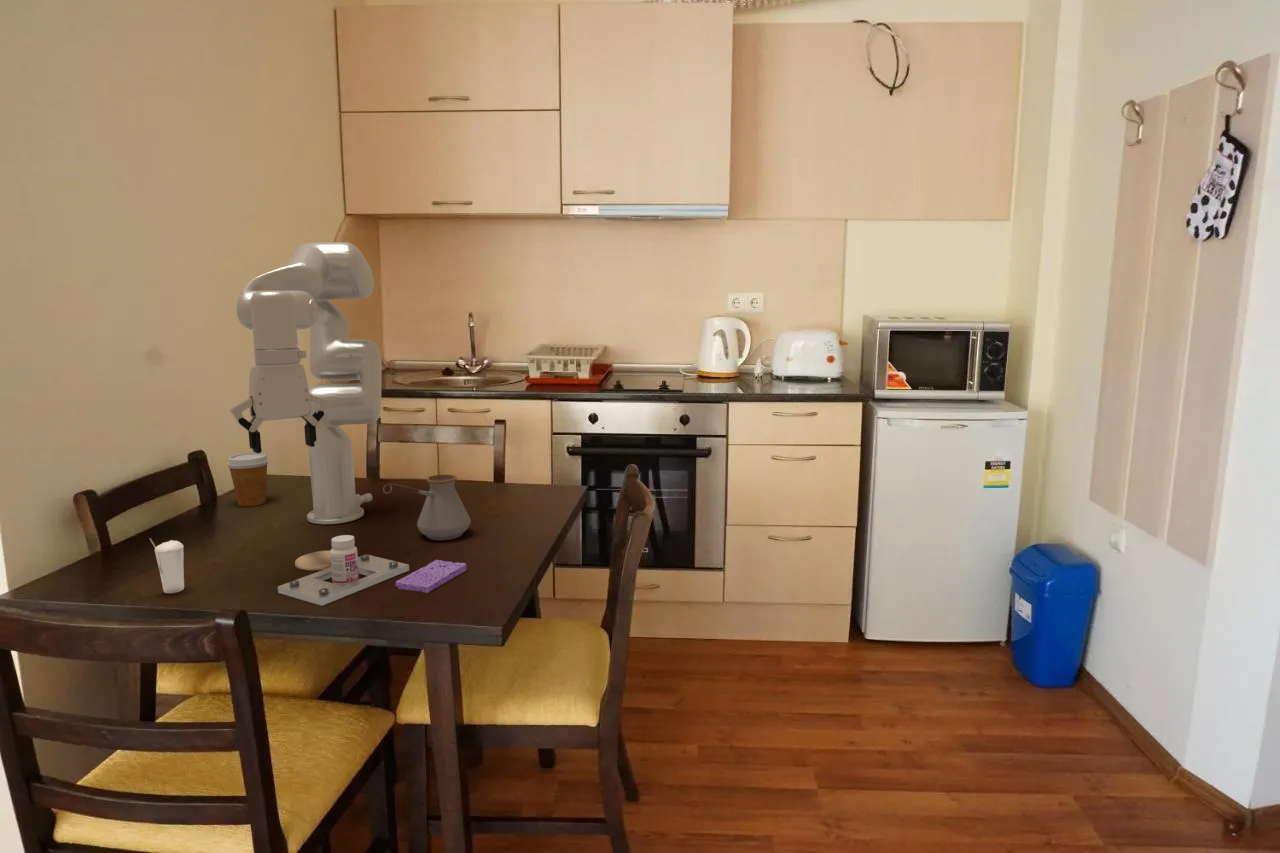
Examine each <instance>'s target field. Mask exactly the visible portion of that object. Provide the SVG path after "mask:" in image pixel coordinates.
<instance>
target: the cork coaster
mask: <svg viewBox="0 0 1280 853" xmlns="http://www.w3.org/2000/svg"><path fill="white" fill-rule="evenodd" d="M330 551H331V549H330V550H320V551H313V552H309V553H306V554H304V555H300V556H299V557H298V558H297V559H295V561H294V565H295V568H297V569H298V570H303V571H322V570H324V569H327V568H330V567H331V557H330Z"/></svg>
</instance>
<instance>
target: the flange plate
mask: <svg viewBox="0 0 1280 853" xmlns="http://www.w3.org/2000/svg"><path fill="white" fill-rule="evenodd" d="M358 570H359V575H361V576H365V577H362V578H359V580H357V581H354V582H351V583H349V584H346V585H337V584H333V582H330V581H326V580H329V579H332V571H331V567H330V568H327V569H324V570H318V571H317V572H314V573H311V574H309V575H305V576H303V577H301V578H297V579H294V580H291V581H289V582H285V583H283V584H281V585H278V586H277V593H278V594H282V595H284V596H287V597H290V598H295V599H297V600H301V601H305V602H307V603H312V604H314V605H317V606H321V607H323V606H325V605H328V604H330V603H334V602H335V601H338V600H340V599H343V598H345V597H348V596H350V595H353V594H355V593H357V592H359V591H362V590H364V589H368V588H370V587H372V586H374V585H377V584H380V583H382V582H385V581H387V580H389V579H393V578H394V577H397V576H399V575H402V574H404V573H406V572H409V571H410V565H409V564H408V563H403V562H400V561H395V560H391V559H387V558H383V557H379V556H374V555H371V554H361V555H360V556H358Z"/></svg>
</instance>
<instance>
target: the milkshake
mask: <svg viewBox="0 0 1280 853" xmlns="http://www.w3.org/2000/svg"><path fill="white" fill-rule="evenodd" d="M149 540H150V542H151V544H152V546H153V547H154V553H155V558H156V563H157V565H158V566H157V567H158V570H159V574H160V581H161V585H162V589H163V594H164V593H165V594H167V595H168V594H176V593H180V592H182V591H184V588H185V578H184V577H185V575H184V572H185V570H184V556H185V555H184V554H185V553H184V552H185V550H184V544H183V543H181V542H180V541H179V540H173V539H171V540H168V541H165V542H161V544H158V545H157V546H156V545H155V544H156V543H154V541H153V540H152V538H149Z"/></svg>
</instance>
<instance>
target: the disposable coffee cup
mask: <svg viewBox="0 0 1280 853" xmlns="http://www.w3.org/2000/svg"><path fill="white" fill-rule="evenodd" d="M227 460H228V461H227V462H226V465H227V467H228V468H229V471H230V477H231V480H232V484H233V487H234V488H233V489H234V493H235V497H236V499H237V503H238V506H241V507H255V506H260V505H262V504H265V503H266V502H267V501H266V500H267V499H266V498H267V497H266V496H267V480H268V477H267V476H268V463H269V461H270V459H269V458H268V456H267V454H266V453H264V452H263V453H262V452H261V453H255V452H246V453H239V454H234V455H231V456H229V457H228V458H227Z"/></svg>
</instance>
